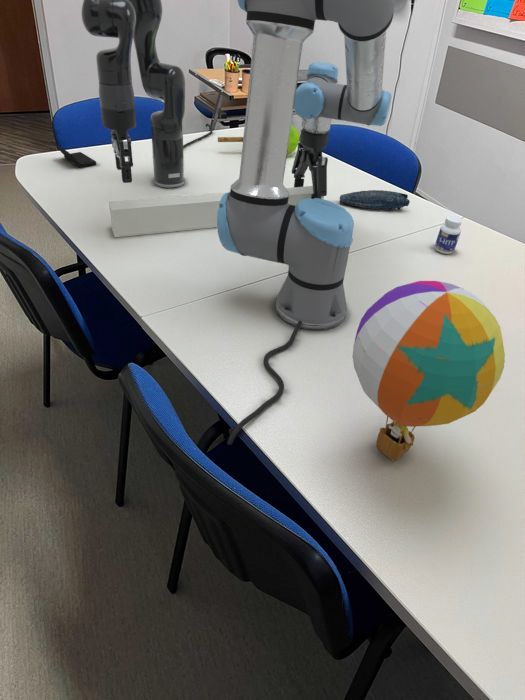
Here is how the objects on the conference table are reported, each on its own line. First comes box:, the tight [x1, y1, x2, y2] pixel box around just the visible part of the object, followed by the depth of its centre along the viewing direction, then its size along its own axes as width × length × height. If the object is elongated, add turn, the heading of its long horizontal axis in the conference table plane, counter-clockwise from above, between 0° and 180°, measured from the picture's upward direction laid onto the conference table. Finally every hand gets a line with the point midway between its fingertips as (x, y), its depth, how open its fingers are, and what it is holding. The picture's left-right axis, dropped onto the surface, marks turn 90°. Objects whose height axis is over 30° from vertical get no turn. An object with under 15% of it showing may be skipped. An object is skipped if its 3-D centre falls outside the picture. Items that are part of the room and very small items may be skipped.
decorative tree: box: [217, 124, 300, 155], centre depth 187 cm, size 18×10×30 cm
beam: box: [108, 185, 325, 238], centre depth 141 cm, size 59×5×7 cm, turn 111°
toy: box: [352, 280, 506, 462], centre depth 74 cm, size 20×20×30 cm
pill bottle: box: [434, 215, 463, 255], centre depth 137 cm, size 5×5×9 cm
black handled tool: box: [52, 142, 97, 168], centre depth 169 cm, size 12×7×10 cm
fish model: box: [339, 189, 411, 211], centre depth 158 cm, size 7×21×5 cm, turn 84°
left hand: (124, 175), depth 126 cm, fingers open, 8 cm apart
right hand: (304, 208), depth 151 cm, fingers open, 11 cm apart
